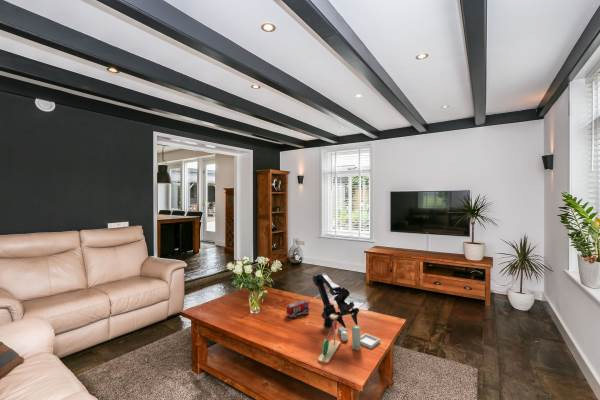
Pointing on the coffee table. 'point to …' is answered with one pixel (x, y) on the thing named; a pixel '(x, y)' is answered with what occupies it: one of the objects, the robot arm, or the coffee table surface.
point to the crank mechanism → (329, 345)
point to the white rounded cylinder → (344, 336)
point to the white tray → (369, 340)
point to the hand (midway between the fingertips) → (351, 326)
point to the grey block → (341, 330)
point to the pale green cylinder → (356, 337)
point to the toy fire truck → (298, 308)
